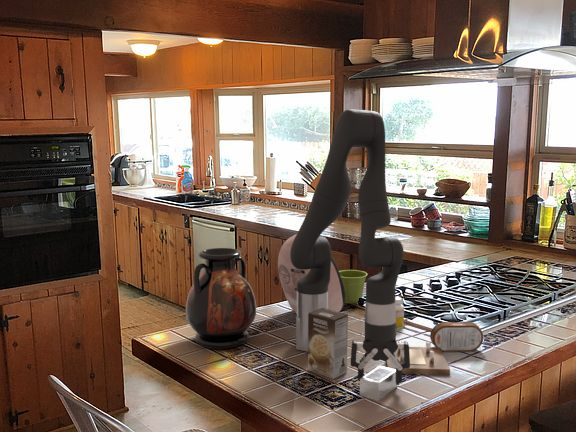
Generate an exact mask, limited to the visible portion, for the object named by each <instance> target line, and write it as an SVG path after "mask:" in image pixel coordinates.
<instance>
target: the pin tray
mask: <svg viewBox="0 0 576 432" xmlns="http://www.w3.org/2000/svg"><path fill="white" fill-rule="evenodd" d="M397 343H403V341H402V340H401V341H400V340H399V341H397ZM431 344H432V342H431V341H426V343H425V346H409V354H410V368H405V369H403V370H402V375H404V374H405V375H406V374H407V375H408V374H409V375H411V374H412V375H437V376H438V375H441V376H451V368H450V366H449V364H448V362H447V360H446V359H447V358H446V356H445V355H444V353H443V352H444V351H442V350H441V348H438V347H435V346H434V347H433V346H431ZM394 354H395V355H396V357H397V358H398V360H399V361H400V362H403V361H404V352H401V350H400V348H398V349H397V350H396V351H395V353H394ZM385 362H386V363H385V364H386V367H388V368H392V369H396V366H395V365H394V364H393V363H392V362H391V361H390V359H388V360H387V361H385Z"/></svg>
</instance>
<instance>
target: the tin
mask: <svg viewBox="0 0 576 432" xmlns="http://www.w3.org/2000/svg"><path fill="white" fill-rule="evenodd" d="M429 337H430V338H429V339H430V343H431V344H432V345H433V346H434V347H438V348H441V350H442V352H445V353H446V352H451V353H452V352H453V353H455V352H460V353H461V352H474V351H476V350H478V349H479V348H481V345H482V344H483V342H484V334H483V331H482V329H481V328H480V326H479V325H477V324H476V323H475V322H471V321H456V322H455V321H444V322H443V321H441V322H440V323H437V324H436V325H434V326H433V327H432V329H431V331H430V335H429Z"/></svg>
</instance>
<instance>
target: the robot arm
mask: <svg viewBox="0 0 576 432" xmlns="http://www.w3.org/2000/svg"><path fill="white" fill-rule="evenodd" d="M385 127H386V126H385V123H384V118H383V116H382V115H381V113H379V112H378V111H373V110H365V109H352V108H351V109H346V110H344V111H342V113H340V115H339V117H338V119H337V122H336V124H335V128H334V131H333V134H332V138H331V143H330V146H329V150H328V154H327V158H326V161H325V164H324V166H323V169H322V171H321V175H320V177H319V180H318V182H317V184H316V187H315V190H314V191H313V192H314V193H313V195H312V199H311V202H310V204H309V207H308V208H307V212H306V214H305V217H304V219H303V220H302V221H303V222H302V223H301V225H300V228H299V229H298V231H297V233H296V234H297V235H296V237H295V239H294V241H293V243H292V247H291V251H290V259H291V262H292V265H293V266H294V267H295V268H297V269H301V270H306V269H310V271H309V273H308V274H307V275H306V276H304V277H303V278H301V279H300V280H299V281H298V282H297V313H296V317H295V334H296V335H295V339H296V340H295V343H296V345H295V349H296V350H297V351H302V352H307V353H308V313H310V312H313V311H315V310H317V309H320V308H325V309H328V285H329V282H330V271H331V256H332V249H331V248H332V247H331V243H330V242H329V240H328V239H327V237H325V236H322V233H324V232H325V230H327V228H329V227H330V226H331V225H332V224H333V223H334V222H335V221H336V220H338V218H339V217H340V216H341V215H342V214H343V212H344V210H345V209H346V206H347V203H348V201H349V198H350V196H351V194H352V193H351V192H352V183H351V179H350V175H349V172H348V168H347V161H348V158H349V154H350V151H352V149H353V148H365V149H366V152H367V153H366V154H367V167H366V170H365V173H364V176H363V177H362V180H361V182H360V186H359V189H358V197H357V200H358V206H359V207H358V208H359V214H360V222H361V223H360V224H361V227H360V237H359V244H358V257H359V261H360V262H361V264H362V266H364V267H365V268H367V269H374V268H375V269H376V268H382V269H381V271H380V272H378V273H377V274H375V275H373V276H370V277H369V278H366V279H367V280H366V281H365V308H364V338H363V339H364V340H363V341H362V342H361V341H357V340H356V339H353V340H352V341H351V349H350V350H351V351H350V366H351V367H352V368H356V369H357V380H358V382H360V378H362V377H363V376H365V370H364V369H365V367H366V365H368V363H370V361H371V360H373V361H375V362H378V361H384V362H386V361H387V360H388V359H390V361H391V362H392V363H393V364H394V365H395V366H396V385H398V386H399V385H400V383H402V381H403V373H402V370H403V369H405V368H410V354H409V347H410V345H409V342H408V341H406V340H405V341H402V343H398V341H397V329H396V305H395V297H396V286H397V281H398V278H399V274H400V271H401V267H402V265H403V261H404V255H405V254H404V247H403V244H402V242H401V241H400V239H399V238H397V237H393V236H385V237H376V232H377V230H381V229H384V228H387V227H388V226H390V224H391V212H390V206H389V200H388V199H389V198H388V193H387V186H386V185H387V184H386V183H387V182H386V128H385ZM361 348H363V350H364V352H365V353H364V354H363V356H362V357H361V358H360V360H357V352H359V351H360V350H361ZM398 348H400V350H401V352H404V361H403V362H400V361H399V360H398V358H397V357H396V355H395V354H394V353H395V351H396V350H397V349H398Z"/></svg>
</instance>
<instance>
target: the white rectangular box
mask: <svg viewBox="0 0 576 432" xmlns="http://www.w3.org/2000/svg"><path fill="white" fill-rule="evenodd" d="M398 386H399V385H396V369H392V368H388V367H387V366H383V365H378V366H377V367H375V368H374V369H372V370H371V371H369V372H368V373H366V374H364V376H363V377H362V378H360V381H359V396H361V397H365V398H367V399H371V400H375V401H380V400H382V399H383V398H384V397H385V396H387V395H388V394H389V393H391V392H392V391H393V390H395V389H396V388H397V387H398Z"/></svg>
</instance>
